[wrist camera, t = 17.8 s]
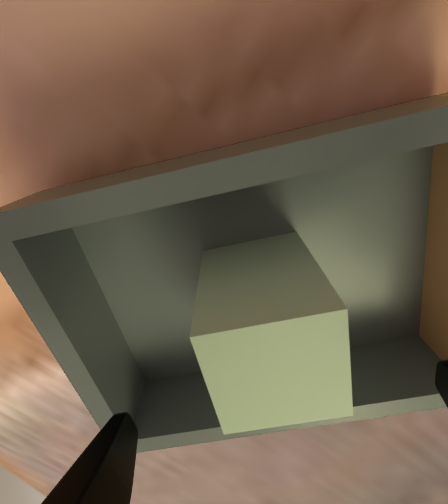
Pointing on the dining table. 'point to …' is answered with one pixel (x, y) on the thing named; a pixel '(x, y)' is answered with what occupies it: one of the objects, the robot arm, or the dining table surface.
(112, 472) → the robot arm
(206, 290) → the sage block
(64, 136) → the dining table surface
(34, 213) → the low planter box
